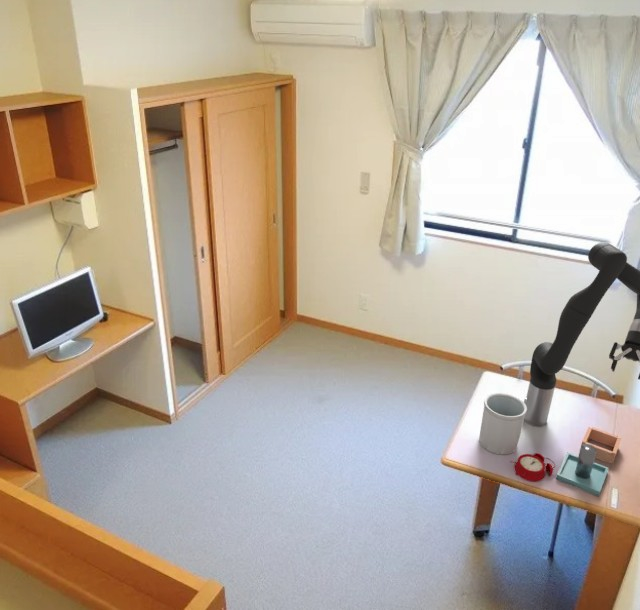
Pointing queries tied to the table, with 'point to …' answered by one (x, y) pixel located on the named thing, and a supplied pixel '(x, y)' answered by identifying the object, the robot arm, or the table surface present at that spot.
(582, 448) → the canister
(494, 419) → the utensil holder
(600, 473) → the teal tray
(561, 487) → the table surface
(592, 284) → the robot arm
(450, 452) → the table surface
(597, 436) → the light orange open box
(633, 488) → the table surface
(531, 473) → the alarm clock
